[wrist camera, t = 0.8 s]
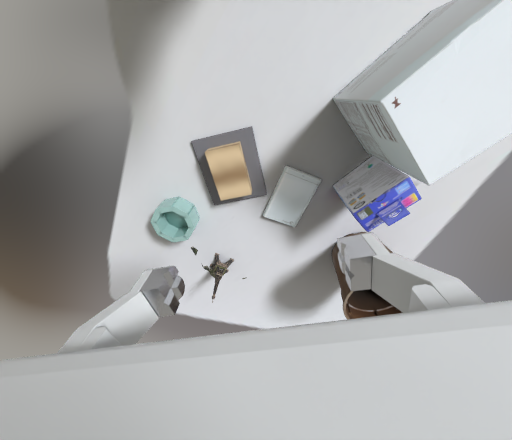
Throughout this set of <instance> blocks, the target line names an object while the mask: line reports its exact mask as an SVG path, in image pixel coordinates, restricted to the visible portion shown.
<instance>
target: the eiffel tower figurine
mask: <svg viewBox="0 0 512 440" xmlns="http://www.w3.org/2000/svg"><path fill="white" fill-rule="evenodd" d="M191 249H192V250H193V252H194V253H195V255H196V254H197V251H198V250H197V249H195V248H194V247H191ZM215 259H216V263H215V266H214V265H212V264H211V265H210V267H211V269H210V270H209V268H208V266H203V265H202V266H203V267H204V269H205V270H208V271H209V272H210V275H212V276H213V277H214V278H215V286H214V292H213V296H212V299H214V298H215V294H216V290H217V287H218V284H219V281H220V280H221V278H222V276H223V275H224V274H225V273H227V272H228V271H229V270H227V268H228V266H229V265H230V264H231V263H232V262H233V261H234V259H232V258H230V261H229V262H228V263H226V264H223V263H221V262H220V260H219V254H217V253H215ZM219 268H221V269H223V270H222V271H221V270H219ZM243 279H245V278H243ZM212 302H213V301H212Z"/></svg>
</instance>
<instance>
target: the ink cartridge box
mask: <svg viewBox="0 0 512 440" xmlns="http://www.w3.org/2000/svg"><path fill="white" fill-rule="evenodd" d="M333 188H334V189H335V190H336V192H337V194H338V195H339V197H340V198H341V200H342V201H343V203H344V204H345V205H346V207H347V208H348V209H349V211H350V212H351V213H352V215H353V216H354V217H355V219H356V220H357V221H358V222H359V223H360V224H361V226H362V227H363V228H364V229H365V230H366V231H367V232H369V231H371V230H372V229H374V228H375V227H377V226H379V225H380V224H382V223H383V222H385V223H386V224H387V225H388V226H390V225H392V224H393V223H395V222H397V221H398V220H400V219H402V218H403V217H405V216H407V215H409V214H410V212H409V211H408V210H407V209H406V208H408V207H409V206H411V205H412V204H414V203H416V202H417V201H419V200H420V199H421V196H420V195H419V193H418V191H417V189H416V188H415V186H414V184H413V182H412V180H411V179H410V177H409V176H408V175H406V174H404V173H402V172H401V171H399V170H397V169H396V168H394V167H392V166H391V165H389V164H387V163H385V162H384V161H382V160H380V159H379V158H377V157H375V156H372V157H371V158H369V159H368V160H366V161H365V162H364V163H362V164H361V165H360V166H358V167H357V168H356V169H354V170H353V171H352V172H350V173H349V174H348V175H346V176H345V177H344V178H342V179H341V180H340V181H338V182H337V183H336V184H334V185H333ZM399 212H400V213H399ZM398 213H399V214H398ZM396 214H398V215H397V216H396V217H393V216H395V215H396ZM391 217H393V218H391Z"/></svg>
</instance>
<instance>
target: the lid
mask: <svg viewBox="0 0 512 440" xmlns="http://www.w3.org/2000/svg"><path fill="white" fill-rule="evenodd" d="M205 155H206V158H207V161H208V164H209V167H210V170H211V173H212V176H213V179H214V182H215V185H216V188H217V191H218V194H219V197H220V199H221V201H222V200H227V199H232V198H237V197H242V196H247V195H252V186H251V182H250V178H249V174H248V170H247V166H246V162H245V158H244V154H243V150H242V146H241V142H240V141H239V142H235V143H231V144H226V145H222V146H218V147H214V148H209V149H207V150H206V151H205Z"/></svg>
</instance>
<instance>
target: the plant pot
mask: <svg viewBox="0 0 512 440" xmlns="http://www.w3.org/2000/svg"><path fill="white" fill-rule="evenodd" d="M363 233H366V232H360V233H357V234H349V235H347V236H345V237H348V236H354V235H360V234H363ZM380 242H381V241H380ZM381 243H382V242H381ZM382 244H383V243H382ZM383 245H384V244H383ZM384 246H385V245H384ZM385 248H386V249H387V250H388V251H389V252H390V253H393V252H392V251H390V250H389V249H388V248H387V247H386V246H385ZM339 251H340V250H339V248H338V246H337V244H336V245H335V246H334V248H333V251H332V260H333V263H334V266H335V270H336V273H337V276H338V280H339V283H340V287H341V296H342V300H343V311H344V315H345V317H346V318H347V320H348V319H356V318H365V317H373V316H382V315H390V314H399V313H403V312H401V311H400V310H399V309H397V308H396V307H394V306H393V305H392V304H390V303H389V302H388V301H386V300H385V299H383V298H382V297H381V296H379V295H378V294H376V293H375V292H374V291H372V289H367V290H358V291H351V290H350V288H349V286H348V284H347V281H346V275H345V274H344V273H342V270H341V268H340V265H339V260H338V252H339Z"/></svg>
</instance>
